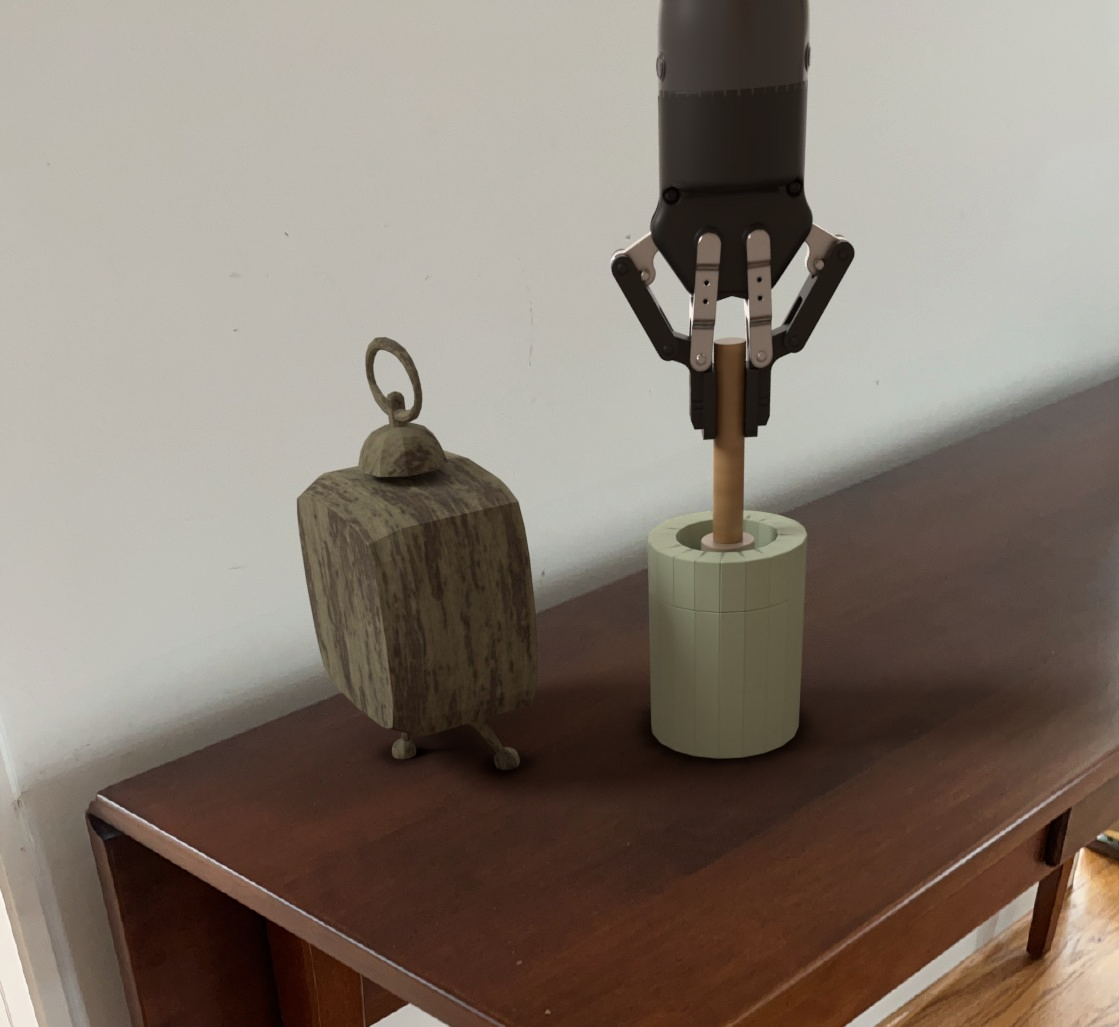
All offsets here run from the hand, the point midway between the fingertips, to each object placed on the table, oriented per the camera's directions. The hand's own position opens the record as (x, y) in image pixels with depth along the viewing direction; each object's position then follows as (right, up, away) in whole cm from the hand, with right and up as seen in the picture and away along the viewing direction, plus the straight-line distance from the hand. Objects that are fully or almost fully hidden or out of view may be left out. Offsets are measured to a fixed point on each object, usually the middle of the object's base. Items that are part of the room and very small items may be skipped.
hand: (728, 433), depth 81 cm
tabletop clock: (-18, -17, +11) cm, 27 cm away
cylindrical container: (+1, -15, +11) cm, 19 cm away
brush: (+1, -10, +7) cm, 12 cm away
